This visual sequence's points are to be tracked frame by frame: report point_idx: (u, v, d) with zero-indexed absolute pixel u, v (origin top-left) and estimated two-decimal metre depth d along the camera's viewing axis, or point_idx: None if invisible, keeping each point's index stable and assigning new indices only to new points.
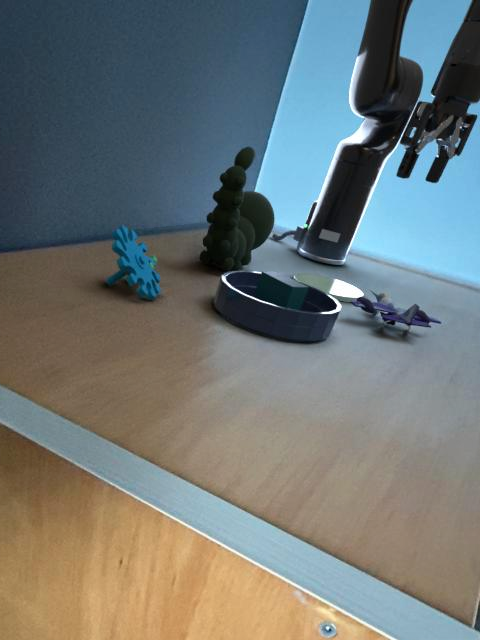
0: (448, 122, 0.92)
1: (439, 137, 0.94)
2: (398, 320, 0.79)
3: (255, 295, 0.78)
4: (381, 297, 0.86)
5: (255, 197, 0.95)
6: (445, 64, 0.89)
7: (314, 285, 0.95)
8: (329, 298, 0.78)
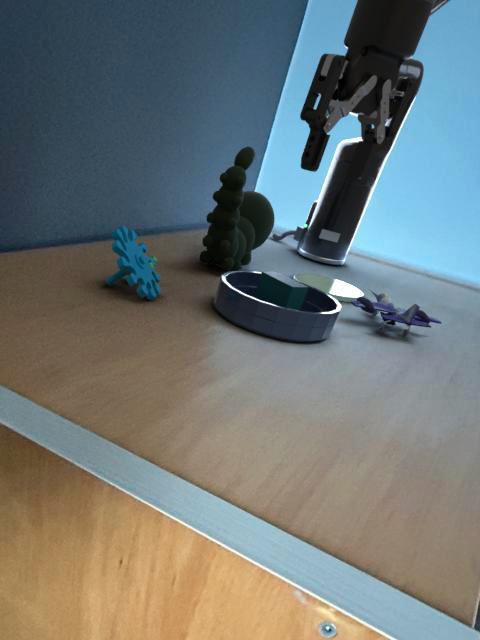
0: (369, 86, 0.61)
1: (359, 110, 0.64)
2: (398, 320, 0.79)
3: (255, 295, 0.78)
4: (381, 297, 0.86)
5: (255, 197, 0.95)
6: None
7: (314, 285, 0.95)
8: (329, 298, 0.78)
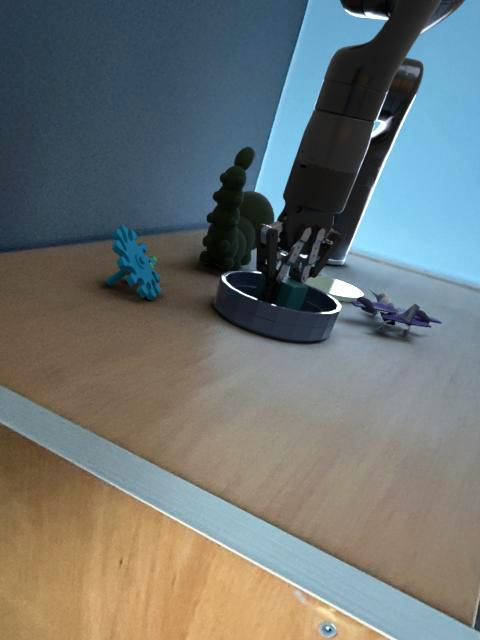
0: (306, 236, 0.70)
1: None
2: (398, 320, 0.79)
3: (255, 295, 0.78)
4: (381, 297, 0.86)
5: (255, 197, 0.95)
6: (295, 163, 0.67)
7: (314, 285, 0.95)
8: (329, 298, 0.78)
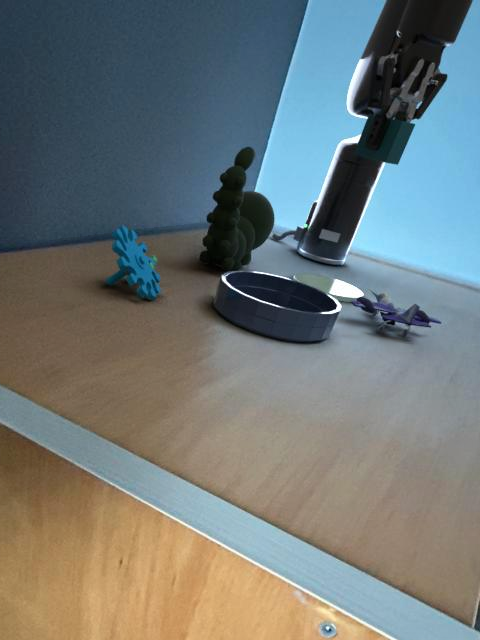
0: (418, 69, 0.76)
1: None
2: (398, 320, 0.79)
3: (360, 139, 0.84)
4: (381, 297, 0.86)
5: (255, 197, 0.95)
6: None
7: (314, 285, 0.95)
8: (329, 298, 0.78)
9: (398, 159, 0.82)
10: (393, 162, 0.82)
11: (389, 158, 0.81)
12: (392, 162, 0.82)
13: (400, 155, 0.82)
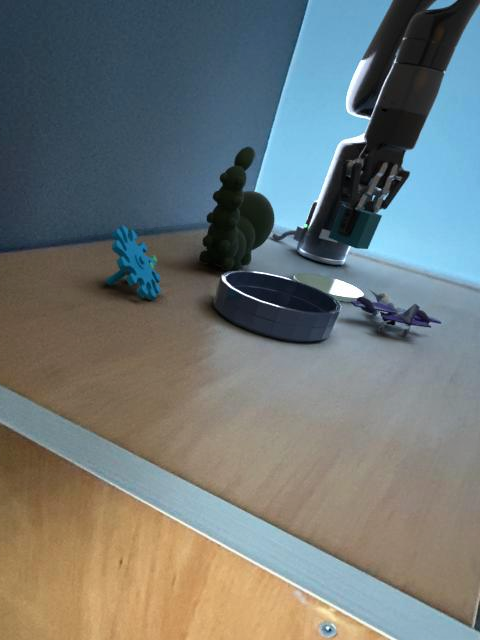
0: (383, 170, 0.85)
1: None
2: (398, 320, 0.79)
3: (334, 225, 0.93)
4: (381, 297, 0.86)
5: (255, 197, 0.95)
6: (376, 108, 0.82)
7: (314, 285, 0.95)
8: (329, 298, 0.78)
9: (368, 244, 0.91)
10: (363, 247, 0.91)
11: (359, 245, 0.90)
12: (362, 247, 0.91)
13: (369, 241, 0.91)
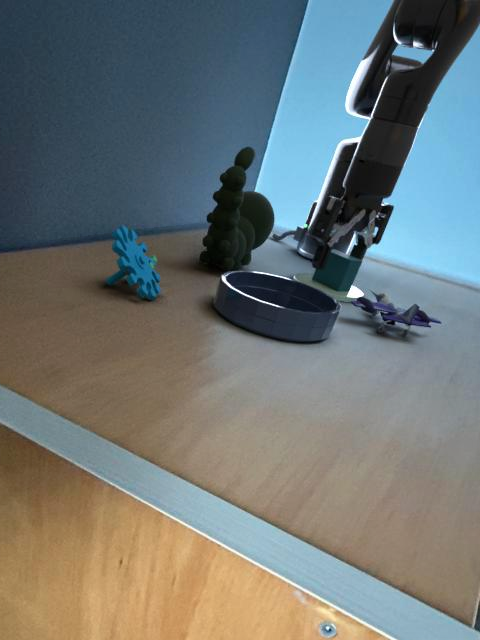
0: (360, 216, 0.89)
1: (353, 229, 0.91)
2: (398, 320, 0.79)
3: None
4: (381, 297, 0.86)
5: (255, 197, 0.95)
6: (354, 159, 0.86)
7: (314, 285, 0.95)
8: (329, 298, 0.78)
9: (349, 287, 0.95)
10: (345, 290, 0.95)
11: (341, 288, 0.94)
12: (344, 290, 0.95)
13: (350, 284, 0.95)
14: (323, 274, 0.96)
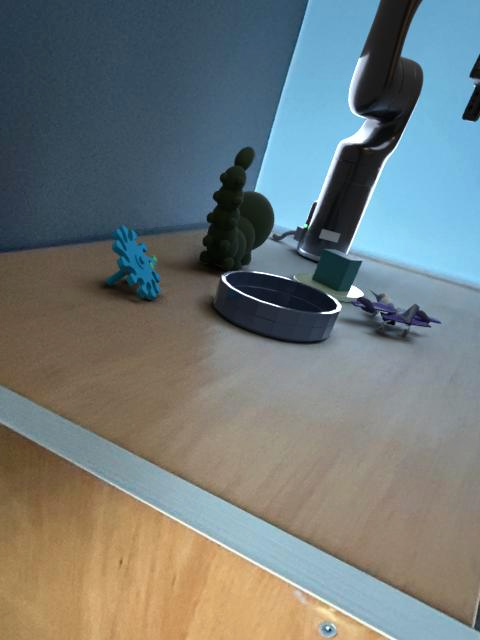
0: None
1: None
2: (398, 320, 0.79)
3: (317, 268, 0.97)
4: (381, 297, 0.86)
5: (255, 197, 0.95)
6: None
7: (314, 285, 0.95)
8: (329, 298, 0.78)
9: (349, 287, 0.95)
10: (345, 290, 0.95)
11: (341, 288, 0.94)
12: (344, 290, 0.95)
13: (350, 284, 0.95)
14: (323, 274, 0.96)
